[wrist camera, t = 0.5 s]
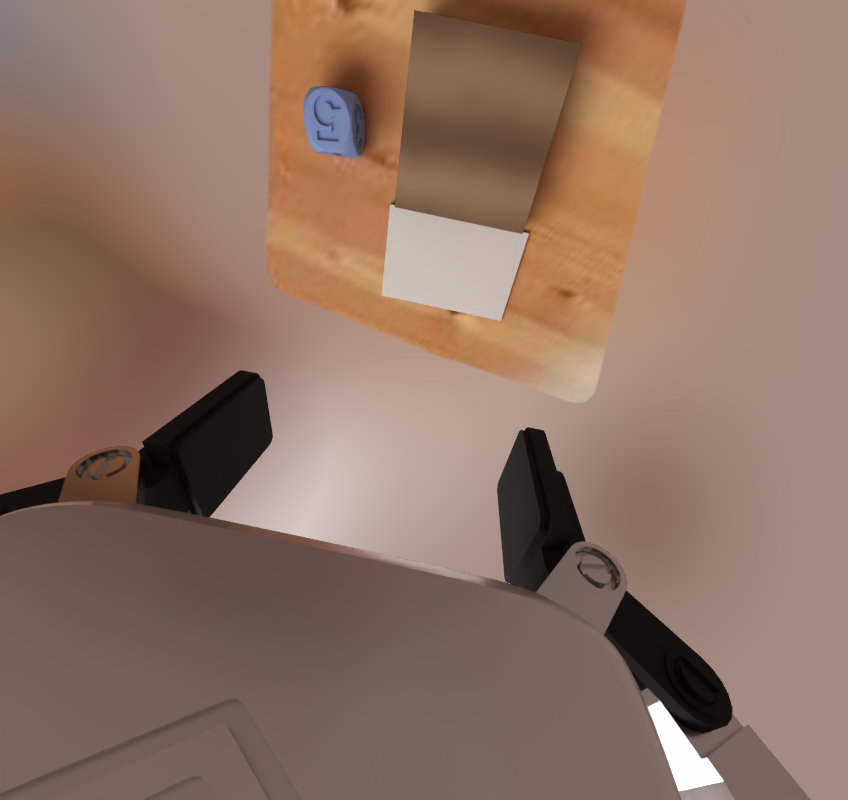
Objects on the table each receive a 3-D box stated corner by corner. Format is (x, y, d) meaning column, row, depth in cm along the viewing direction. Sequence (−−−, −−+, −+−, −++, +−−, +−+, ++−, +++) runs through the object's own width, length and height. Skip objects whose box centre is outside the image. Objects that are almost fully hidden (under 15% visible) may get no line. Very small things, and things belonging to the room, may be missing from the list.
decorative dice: (324, 154, 30) (306, 149, 26) (320, 97, 28) (300, 84, 24) (365, 159, 30) (352, 153, 26) (365, 101, 27) (350, 88, 24)
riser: (420, 29, 25) (414, 10, 22) (570, 59, 24) (582, 43, 22) (400, 206, 31) (394, 207, 29) (518, 231, 31) (522, 234, 29)
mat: (390, 204, 31) (390, 204, 31) (528, 233, 31) (529, 233, 31) (382, 294, 36) (381, 295, 36) (500, 319, 36) (500, 320, 36)
